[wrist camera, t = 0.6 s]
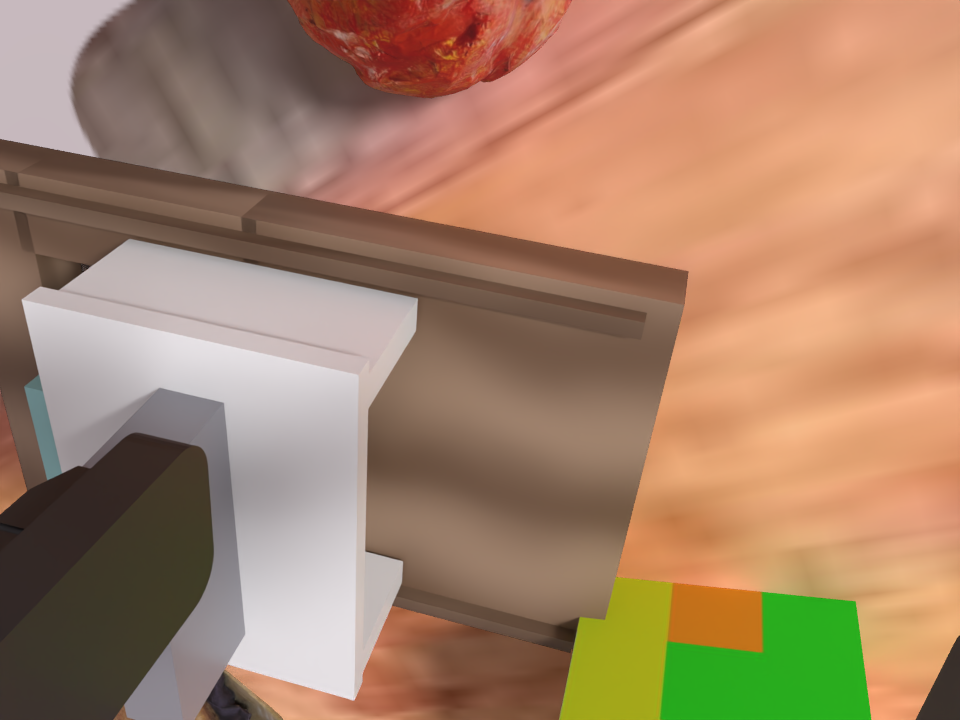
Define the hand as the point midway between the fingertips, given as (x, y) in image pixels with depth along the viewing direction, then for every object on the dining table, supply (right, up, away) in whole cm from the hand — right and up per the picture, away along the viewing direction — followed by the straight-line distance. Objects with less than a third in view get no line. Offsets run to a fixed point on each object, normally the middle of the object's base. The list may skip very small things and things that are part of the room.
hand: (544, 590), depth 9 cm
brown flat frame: (-7, +1, +25) cm, 26 cm away
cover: (-8, 0, +23) cm, 24 cm away
